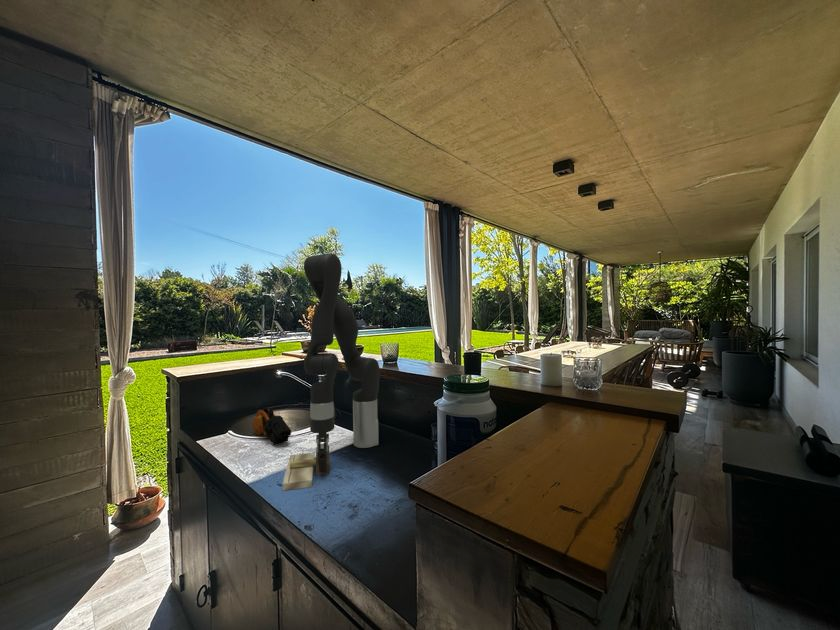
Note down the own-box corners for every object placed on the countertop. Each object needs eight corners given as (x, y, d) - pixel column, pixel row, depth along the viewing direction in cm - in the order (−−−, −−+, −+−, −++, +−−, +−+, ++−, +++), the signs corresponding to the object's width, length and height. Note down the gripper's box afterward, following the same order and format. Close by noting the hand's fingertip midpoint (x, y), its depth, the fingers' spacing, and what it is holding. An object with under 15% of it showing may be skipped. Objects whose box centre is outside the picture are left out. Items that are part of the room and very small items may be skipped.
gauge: (329, 466, 113) (329, 443, 113) (329, 473, 108) (329, 449, 108) (290, 471, 110) (290, 447, 110) (289, 478, 105) (288, 453, 105)
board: (314, 458, 120) (314, 452, 119) (311, 486, 100) (311, 479, 100) (290, 460, 117) (290, 454, 117) (282, 490, 98) (282, 483, 98)
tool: (270, 466, 129) (275, 433, 125) (248, 430, 144) (252, 399, 139) (290, 458, 135) (296, 427, 131) (267, 425, 150) (272, 395, 145)
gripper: (334, 421, 104) (335, 475, 104) (334, 407, 118) (334, 456, 118) (308, 423, 102) (309, 479, 102) (311, 409, 116) (311, 458, 116)
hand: (323, 466), depth 110 cm, fingers open, 6 cm apart
